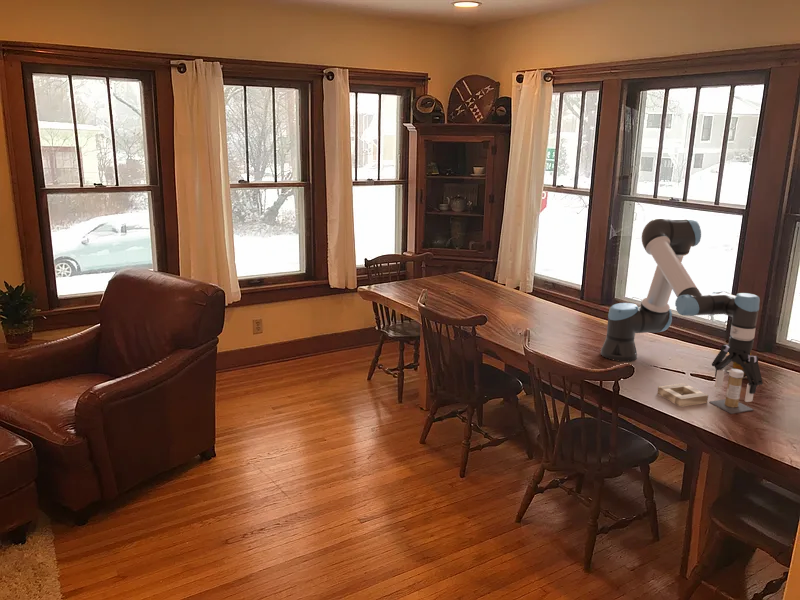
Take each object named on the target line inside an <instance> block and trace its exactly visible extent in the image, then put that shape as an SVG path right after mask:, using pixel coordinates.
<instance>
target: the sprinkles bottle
mask: <svg viewBox="0 0 800 600" xmlns="http://www.w3.org/2000/svg"><path fill="white" fill-rule="evenodd" d="M728 371H729V372H728V380H727V381H728V382H727V387H726V392H725V398H724V399H725V405H726V406H728V407H732V408H736V407H738V403H739V402H740V397H741V391H742V383H743V379H744V378H743V375H744V372H743V371H742V370H739V369H732V368H730V369H729V370H728Z"/></svg>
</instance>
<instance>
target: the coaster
mask: <svg viewBox="0 0 800 600" xmlns="http://www.w3.org/2000/svg"><path fill="white" fill-rule="evenodd" d="M725 399H726V398H724V399H717V400H712V401H711V400H709V404H712V405H713V406H715V407H716V408H719V409H721V410H723V411H724V412H727V413H729V414H730V415H732V414H734V415H735V414H738V413H739V414H740V413H745V412H753V411H754V408H752V407H750V406H747V405H746V404H744V403H742V402H740V401H739V403H738V407H736V408H732V407H728V406H726V405H725Z"/></svg>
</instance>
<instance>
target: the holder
mask: <svg viewBox="0 0 800 600" xmlns="http://www.w3.org/2000/svg"><path fill="white" fill-rule="evenodd" d="M657 395H658V396H660V397H662V398H664V399H666V400H668V402H669V401H670V402H671V403H673V404H674V405H676V406H678V407H679V408H684V407H688V406H695V405H702V404H707V403H708V399H709V395H708V394H706V393H704V391H703V392H702V391H700V390H699V389H697V388H695V387H693V386H691V385H689V384H687V383H685V382H684V383H675V384H668V385H661V386H658V387H657Z"/></svg>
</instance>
